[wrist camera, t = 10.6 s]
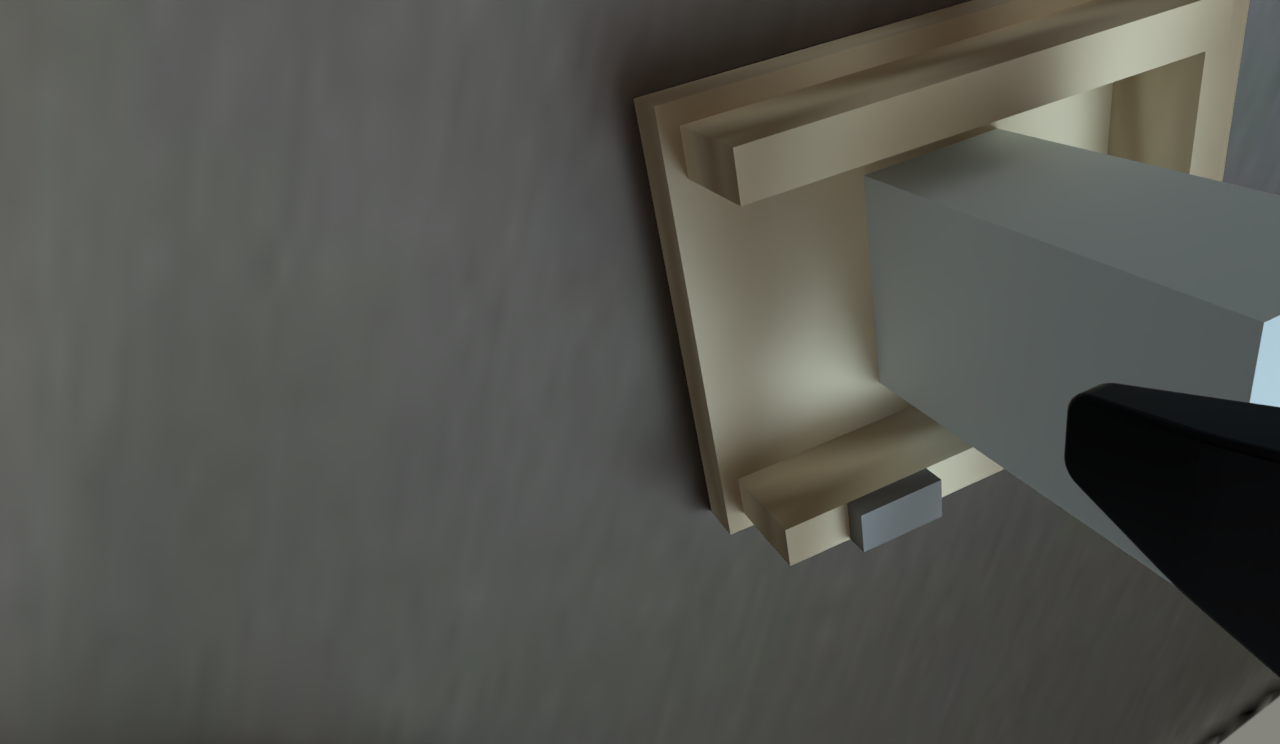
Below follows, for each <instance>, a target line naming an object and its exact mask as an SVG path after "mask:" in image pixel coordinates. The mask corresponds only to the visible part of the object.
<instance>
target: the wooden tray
mask: <svg viewBox="0 0 1280 744" xmlns="http://www.w3.org/2000/svg"><path fill="white" fill-rule="evenodd" d="M1249 1H1250V0H971V1H968V2H964V3H961V4H957V5H954V6H951V7H947V8H944V9H940V10H937V11H933V12H930V13H926V14H923V15H920V16H916V17H913V18H909V19H906V20H902V21H899V22H895V23H892V24H889V25H885V26H882V27H878V28H875V29H871V30H868V31H864V32H861V33H858V34H854V35H851V36H847V37H844V38H840V39H837V40H833V41H830V42H827V43H823V44H820V45H816V46H813V47H809V48H806V49H802V50H799V51H795V52H792V53H789V54H785V55H782V56H778V57H775V58H771V59H768V60H764V61H761V62H758V63H754V64H751V65H747V66H744V67H740V68H737V69H733V70H730V71H727V72H723V73H720V74H716V75H713V76H709V77H706V78H702V79H699V80H696V81H692V82H689V83H685V84H682V85H678V86H675V87H671V88H668V89H664V90H661V91H658V92H654V93H651V94H647V95H644V96H640V97H637V98H633V99H634V105H635V110H636V115H637V120H638V126H639V131H640V136H641V142H642V147H643V152H644V157H645V163H646V168H647V173H648V178H649V184H650V189H651V194H652V200H653V205H654V210H655V215H656V221H657V226H658V231H659V236H660V242H661V247H662V252H663V258H664V263H665V268H666V273H667V279H668V284H669V289H670V294H671V300H672V305H673V310H674V316H675V321H676V326H677V331H678V337H679V342H680V347H681V353H682V358H683V363H684V368H685V374H686V379H687V384H688V389H689V395H690V400H691V405H692V411H693V416H694V421H695V426H696V432H697V437H698V442H699V447H700V453H701V458H702V463H703V469H704V474H705V479H706V484H707V490H708V495H709V500H710V505H711V511H712V513H713V514H714V515H715V516H716V518H717V519H718V520H719V521H720V523H721V524H722V525H723V526H724V527H725V529H726V530H727V531H728V532H729V534H730V535H731V534H734V533H736V532H738V531H741V530H743V529H745V528H747V527H750V526H752V525H755V526H756V528H757V529H758V530H759V531H760V532H761V533H762V534H763V536H764V537H765V538H766V539H767V540H768V541H769V542H770V544H771V545H772V546H773V547H774V548H775V549H776V550H777V552H778V553H779V554H780V555H781V556H782V557H783V558H784V560H785V561H786V562H787V563H788V564H789V565H790V566H792V565H794V564H796V563H798V562H800V561H803V560H805V559H807V558H809V557H811V556H814V555H816V554H818V553H820V552H822V551H825V550H827V549H829V548H831V547H833V546H836V545H838V544H840V543H842V542H844V541H847V540H849V539H851V540H852V541H853V542H854V543H855V544H856V545H857V546H858V547H859V548H860V549H861V550H862V551H863V552H865V551H868V550H870V549H872V548H874V547H876V546H878V545H881V544H883V543H885V542H887V541H889V540H891V539H894V538H896V537H898V536H900V535H902V534H905V533H907V532H909V531H911V530H913V529H915V528H918V527H920V526H922V525H924V524H926V523H928V522H931V521H933V520H935V519H937V518H939V517H941V516H942V497H944V496H946V495H948V494H950V493H952V492H955V491H957V490H959V489H961V488H963V487H966V486H968V485H970V484H972V483H974V482H977V481H979V480H981V479H983V478H985V477H988V476H990V475H992V474H994V473H996V472H999V471H1001V470H1003V469H1004V468H1003V467H1001V466H1000V465H998V464H997V463H995V462H994V461H993V460H991V459H990V458H988V457H987V456H985V455H984V454H982V453H981V452H979V451H978V450H977V449H975V448H974V447H972V446H971V445H969V444H968V443H966V442H965V441H963V440H962V439H961V438H959V437H958V436H956V435H955V434H953V433H952V432H950V431H949V430H947V429H946V428H945V427H943V426H942V425H940V424H939V423H937V422H936V421H934V420H933V419H932V418H930V417H929V416H927V415H926V414H924V413H923V412H921V411H920V410H918V409H917V408H916V407H914V406H913V405H911V404H910V403H908V402H907V401H905V400H904V399H902V398H901V397H900V396H898V395H897V394H895V393H894V392H892V391H891V390H889V389H888V388H886V387H885V386H884V385H882V384H881V383H879V373H878V360H877V346H876V333H875V320H874V306H873V293H872V280H871V266H870V253H869V239H868V226H867V213H866V199H865V186H864V175H867V174H870V173H872V172H875V171H878V170H881V169H884V168H887V167H889V166H892V165H895V164H898V163H901V162H904V161H906V160H909V159H912V158H915V157H918V156H921V155H923V154H926V153H929V152H932V151H935V150H937V149H940V148H943V147H946V146H949V145H952V144H954V143H957V142H960V141H963V140H966V139H969V138H971V137H974V136H977V135H980V134H983V133H985V132H988V131H991V130H994V129H997V128H998V129H1002V130H1006V131H1010V132H1014V133H1019V134H1023V135H1027V136H1031V137H1036V138H1040V139H1044V140H1048V141H1052V142H1057V143H1061V144H1065V145H1069V146H1073V147H1078V148H1082V149H1086V150H1090V151H1094V152H1099V153H1103V154H1107V155H1111V156H1115V157H1120V158H1124V159H1128V160H1132V161H1136V162H1141V163H1145V164H1149V165H1153V166H1157V167H1162V168H1166V169H1170V170H1174V171H1179V172H1183V173H1187V174H1191V175H1195V176H1200V177H1204V178H1208V179H1212V180H1216V181H1221V182H1222V179H1223V173H1224V166H1225V160H1226V153H1227V146H1228V140H1229V133H1230V127H1231V120H1232V113H1233V107H1234V100H1235V94H1236V87H1237V80H1238V74H1239V67H1240V61H1241V54H1242V47H1243V41H1244V34H1245V27H1246V21H1247V14H1248V8H1249Z"/></svg>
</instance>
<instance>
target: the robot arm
mask: <svg viewBox="0 0 1280 744" xmlns="http://www.w3.org/2000/svg"><path fill="white" fill-rule="evenodd" d="M1064 462H1065V466H1066V469H1067V471H1068V473H1069V475H1070V477H1071V478H1072V480H1073V481H1074V482H1075V483H1076V484H1077V485H1078V486H1079V487H1080V488H1081V489H1082V491H1083V492H1084V493H1085V494H1086V495H1087V496H1088V497H1089V498H1090V499H1091V500H1092V501H1093V502H1094V503H1095V504H1096V505H1097V506H1098V507H1099V508H1100V509H1101V510H1102V511H1103V512H1104V513H1105V514H1106V515H1107V516H1108V518H1109V519H1110V520H1111V521H1112V522H1113V523H1114V524H1115V525H1116V526H1117V527H1118V528H1119V529H1120V530H1121V531H1122V532H1123V533H1124V534H1125V535H1126V536H1127V537H1128V538H1129V539H1130V540H1131V541H1132V542H1133V543H1134V544H1135V546H1136V547H1137V548H1138V549H1139V550H1140V551H1141V552H1142V553H1143V554H1144V555H1145V556H1146V557H1147V558H1148V559H1149V560H1150V561H1151V562H1152V563H1153V564H1154V565H1155V566H1156V567H1157V568H1158V569H1159V570H1160V571H1161V572H1162V573H1163V574H1164V575H1165V576H1166V577H1167V578H1168V579H1169V580H1170V581H1171V582H1172V583H1173V584H1174V585H1175V586H1176V587H1177V588H1178V589H1179V590H1180V591H1181V592H1182V593H1183V594H1184V595H1185V596H1187V597H1188V598H1189V599H1190V600H1191V601H1192V602H1193V603H1194V604H1195V605H1197V606H1198V607H1199V608H1200V609H1201V610H1202V611H1203V612H1205V613H1206V614H1207V615H1208V616H1209V617H1210V618H1212V619H1213V620H1214V621H1215V622H1216V623H1217V624H1218V625H1220V626H1221V627H1222V628H1223V629H1224V630H1225V631H1227V632H1228V633H1229V634H1230V635H1231V636H1232V637H1233V638H1235V639H1236V640H1237V641H1238V642H1239V643H1240V644H1242V645H1243V646H1244V647H1245V648H1246V649H1247V650H1248V651H1250V652H1251V653H1252V654H1253V655H1254V656H1255V657H1257V658H1258V659H1259V660H1260V661H1261V662H1262V663H1263V664H1265V665H1266V666H1267V667H1268V668H1269V669H1270V670H1272V671H1273V672H1274V673H1275V674H1276V675H1277V676H1278V677H1280V407H1275V406H1269V405H1262V404H1255V403H1248V402H1241V401H1235V400H1228V399H1221V398H1214V397H1207V396H1201V395H1194V394H1187V393H1180V392H1173V391H1166V390H1160V389H1153V388H1146V387H1139V386H1132V385H1126V384H1119V383H1103V384H1099V385H1097V386H1095V387H1093V388H1090V389H1088V390H1086V391H1083V392H1081V393H1079V394H1077V395H1075V396H1074V397H1073V398H1072V399H1071V401H1070V402H1069V404H1068V409H1067V420H1066V435H1065V449H1064Z"/></svg>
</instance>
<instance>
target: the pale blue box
mask: <svg viewBox="0 0 1280 744" xmlns="http://www.w3.org/2000/svg"><path fill="white" fill-rule="evenodd" d="M864 186H865V199H866V213H867V226H868V239H869V253H870V266H871V280H872V293H873V306H874V320H875V333H876V346H877V360H878V373H879V383H881V384H882V385H884V386H885V387H886V388H888V389H889V390H891V391H892V392H894V393H895V394H897V395H898V396H900V397H901V398H902V399H904V400H905V401H907V402H908V403H910V404H911V405H913V406H914V407H916V408H917V409H918V410H920V411H921V412H923V413H924V414H926V415H927V416H929V417H930V418H932V419H933V420H934V421H936V422H937V423H939V424H940V425H942V426H943V427H945V428H946V429H947V430H949V431H950V432H952V433H953V434H955V435H956V436H958V437H959V438H961V439H962V440H963V441H965V442H966V443H968V444H969V445H971V446H972V447H974V448H975V449H977V450H978V451H979V452H981V453H982V454H984V455H985V456H987V457H988V458H990V459H991V460H993V461H994V462H995V463H997V464H998V465H1000V466H1001V467H1003V468H1004V469H1006V470H1007V471H1009V472H1010V473H1011V474H1013V475H1014V476H1016V477H1017V478H1019V479H1020V480H1022V481H1023V482H1024V483H1026V484H1027V485H1029V486H1030V487H1032V488H1033V489H1035V490H1036V491H1038V492H1039V493H1040V494H1042V495H1043V496H1045V497H1046V498H1048V499H1049V500H1051V501H1052V502H1054V503H1055V504H1056V505H1058V506H1059V507H1061V508H1062V509H1064V510H1065V511H1067V512H1068V513H1070V514H1071V515H1072V516H1074V517H1075V518H1077V519H1078V520H1080V521H1081V522H1083V523H1084V524H1086V525H1087V526H1088V527H1090V528H1091V529H1093V530H1094V531H1096V532H1097V533H1099V534H1100V535H1101V536H1103V537H1104V538H1106V539H1107V540H1109V541H1110V542H1112V543H1113V544H1115V545H1116V546H1117V547H1119V548H1120V549H1122V550H1123V551H1125V552H1126V553H1128V554H1129V555H1131V556H1132V557H1133V558H1135V559H1136V560H1138V561H1139V562H1141V563H1142V564H1144V565H1145V566H1147V567H1148V568H1149V569H1151V570H1152V571H1154V572H1155V573H1157V574H1158V575H1160V576H1161V577H1163V578H1164V579H1165V580H1167V581H1168V582H1170V583H1171V584H1173V583H1172V582H1171V581H1170V580H1169V579H1168V578H1167V577H1166V576H1165V575H1164V574H1163V573H1162V572H1161V571H1160V570H1159V569H1158V568H1157V567H1156V566H1155V565H1154V564H1153V563H1152V562H1151V561H1150V560H1149V559H1148V558H1147V557H1146V556H1145V555H1144V554H1143V553H1142V552H1141V551H1140V550H1139V549H1138V548H1137V547H1136V546H1135V544H1134V543H1133V542H1132V541H1131V540H1130V539H1129V538H1128V537H1127V536H1126V535H1125V534H1124V533H1123V532H1122V531H1121V530H1120V529H1119V528H1118V527H1117V526H1116V525H1115V524H1114V523H1113V522H1112V521H1111V520H1110V519H1109V518H1108V516H1107V515H1106V514H1105V513H1104V512H1103V511H1102V510H1101V509H1100V508H1099V507H1098V506H1097V505H1096V504H1095V503H1094V502H1093V501H1092V500H1091V499H1090V498H1089V497H1088V496H1087V495H1086V494H1085V493H1084V492H1083V491H1082V489H1081V488H1080V487H1079V486H1078V485H1077V484H1076V483H1075V482H1074V481H1073V480H1072V478H1071V477H1070V475H1069V473H1068V471H1067V469H1066V466H1065V462H1064V449H1065V435H1066V420H1067V409H1068V404H1069V402H1070V401H1071V399H1072V398H1073V397H1074V396H1075V395H1077V394H1079V393H1081V392H1083V391H1086V390H1088V389H1090V388H1093V387H1095V386H1097V385H1099V384H1103V383H1119V384H1126V385H1132V386H1139V387H1146V388H1153V389H1160V390H1166V391H1173V392H1180V393H1187V394H1194V395H1201V396H1207V397H1214V398H1221V399H1228V400H1235V401H1241V402H1248V403H1255V404H1262V405H1269V406H1275V407H1280V196H1279V195H1275V194H1271V193H1267V192H1263V191H1258V190H1254V189H1250V188H1246V187H1242V186H1237V185H1233V184H1229V183H1225V182H1221V181H1216V180H1212V179H1208V178H1204V177H1200V176H1195V175H1191V174H1187V173H1183V172H1179V171H1174V170H1170V169H1166V168H1162V167H1157V166H1153V165H1149V164H1145V163H1141V162H1136V161H1132V160H1128V159H1124V158H1120V157H1115V156H1111V155H1107V154H1103V153H1099V152H1094V151H1090V150H1086V149H1082V148H1078V147H1073V146H1069V145H1065V144H1061V143H1057V142H1052V141H1048V140H1044V139H1040V138H1036V137H1031V136H1027V135H1023V134H1019V133H1014V132H1010V131H1006V130H1002V129H998V128H997V129H994V130H991V131H988V132H985V133H983V134H980V135H977V136H974V137H971V138H969V139H966V140H963V141H960V142H957V143H954V144H952V145H949V146H946V147H943V148H940V149H937V150H935V151H932V152H929V153H926V154H923V155H921V156H918V157H915V158H912V159H909V160H906V161H904V162H901V163H898V164H895V165H892V166H889V167H887V168H884V169H881V170H878V171H875V172H872V173H870V174H867V175H864ZM1173 585H1174V584H1173ZM1174 586H1175V585H1174Z"/></svg>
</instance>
